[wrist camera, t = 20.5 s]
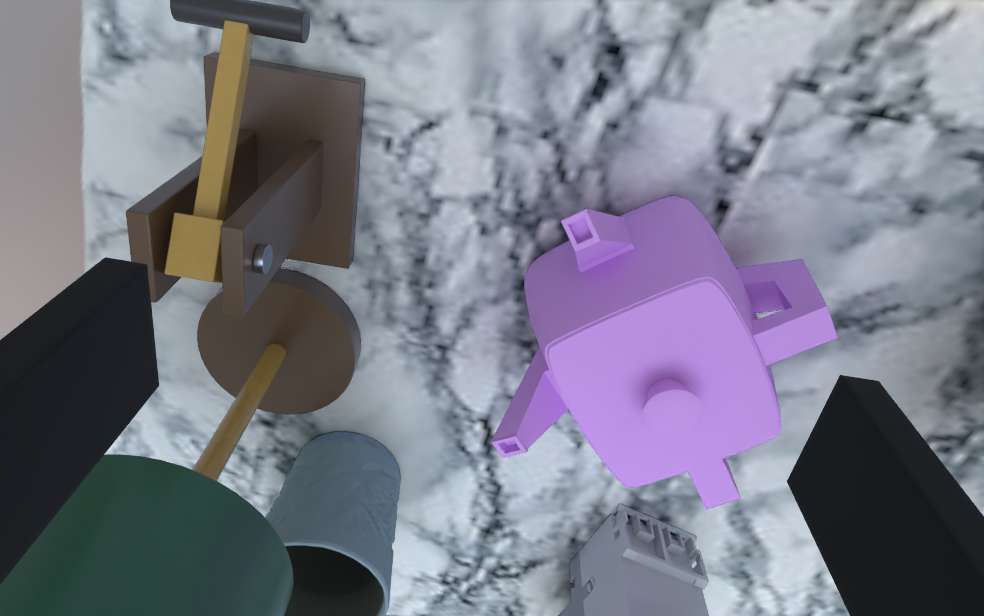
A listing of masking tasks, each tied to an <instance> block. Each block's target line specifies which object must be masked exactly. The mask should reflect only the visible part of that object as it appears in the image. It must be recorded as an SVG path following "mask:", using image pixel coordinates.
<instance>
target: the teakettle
mask: <svg viewBox="0 0 984 616" xmlns="http://www.w3.org/2000/svg"><path fill="white" fill-rule="evenodd" d="M561 222H562V224H563V227H564V229H565V231H566V233H567V235H568V237H569V239H570V240H568V241H566V242H564V243H563V244H561V245H559V246H557V247H555V248H553V249H551V250H550V251H548V252H546V253H544V254H543V255H541V256H540V257H539V258H537V259H536V260H535V261H534V262H533V263H532V264H531V265H530V267H529V268H528V270H527V272H526V275H525V281H524V287H525V296H526V302H527V307H528V312H529V317H530V321H531V324H532V327H533V330H534V333H535V336H536V338H537V341H538V344H539V348H538V350H537V352H536V354H535V356H534V358H533V360H532V362H531V364H530V366H529V368H528V370H527V372H526V374H525V376H524V378H523V380H522V382H521V384H520V386H519V388H518V390H517V392H516V394H515V396H514V398H513V400H512V402H511V404H510V406H509V408H508V410H507V412H506V414H505V416H504V418H503V420H502V422H501V424H500V426H499V427H498V429H497V431H496V433H495V435H494V437H493V440H492V444H493V445H494V446H495V448H496V449H497V451H498V452H499V453H500V455H501V456H502V457H503V458H504V457H508V456H512V455H516V454H520V453H524V452H527V450H528V448H529V447H530V446H531V445H532V444H533V443H534V442H535V441H536V440H537V439H538V438H539V437H540V436H541V435H542V434H543V433H544V432H545V431H546V430H547V429H548V428H549V427H550V426H551V425H552V424H554V423H555V422H556V421H557V420H558V419H559V418H560V417H561V416H562V415H563V414H564V413H565V412H566V411H567V410H568V409H569V411H570V413H571V414H572V416H573V418H574V420H575V421H576V423H577V425H578V427H579V428H580V430H581V431H582V433H583V434H584V436H585V437H586V439H587V440H588V442H589V443H590V445H591V446H592V448H593V449H594V450H595V452H596V453H597V455H598V456H599V457H600V459H601V460H602V461H603V463H604V464H605V465H606V467H607V468H608V469H609V470H610V472H611V473H612V474H613V475H614V476H615V477H616V478H617V480H619V481H620V482H621V483H622V484H623V485H625V486H627V487H630V488H635V487H639V486H643V485H647V484H650V483H654V482H657V481H660V480H663V479H666V478H670V477H673V476H676V475H679V474H682V473H685V472H688V473H689V475H690V477H691V479H692V481H693V483H694V485H695V487H696V489H697V491H698V493H699V495H700V497H701V499H702V501H703V503H704V505H705V507H706V509H710V508H713V507H716V506H719V505H722V504H725V503H728V502H732V501H735V500H738V499H741V498H740V495H739V493H738V490H737V487H736V484H735V482H734V479H733V476H732V473H731V471H730V468H729V465H728V463H727V460H726V457H729V456H732V455H735V454H737V453H740V452H742V451H745V450H747V449H750V448H752V447H755V446H757V445H760V444H762V443H764V442H767V441H769V440H771V439H773V438H775V437H776V436H778V435H779V433H780V431H781V416H780V410H779V404H778V399H777V394H776V389H775V384H774V379H773V374H772V370H771V366H770V364H772V363H775V362H777V361H780V360H783V359H785V358H788V357H790V356H793V355H795V354H798V353H800V352H803V351H805V350H808V349H811V348H813V347H816V346H818V345H821V344H823V343H826V342H828V341H831V340H834V339H836V338H837V335H836V331H835V328H834V325H833V322H832V319H831V316H830V313H829V310H828V307H827V305H826V303H825V301H824V299H823V297H822V295H821V294H820V292H819V290H818V288H817V286H816V284H815V282H814V280H813V279H812V277H811V275H810V273H809V271H808V269H807V267H806V265H805V264H804V262H803V260H802V259H798V260H791V261H783V262H776V263H768V264H761V265H753V266H745V267H738V268H736V267H735V265H734V263H733V261H732V260H731V258H730V256H729V254H728V253H727V251H726V249H725V248H724V246H723V244H722V242H721V241H720V239H719V238H718V236H717V234H716V233H715V231H714V230H713V228H712V227H711V225H710V224H709V222H708V221H707V220H706V218H705V217H704V216H703V214H702V213H701V212H700V211H699V210H698V209H697V208H696V206H695V205H694V204H693V203H691V202H690V201H688V200H686V199H684V198H681V197H677V196H669V197H665V198H661V199H659V200H656V201H654V202H651V203H648V204H646V205H643V206H641V207H639V208H636V209H634V210H632V211H630V212H627V213H625V214H623V215H620V216H614V215H610V214H606V213H602V212H598V211H594V210H590V209H584V210H582V211H580V212H578V213H576V214H573V215H571V216H569V217H567V218H565V219H562V220H561ZM778 310H783V311H781V312H778V313H775V314H772V315H769V316H766V317H763V318H760V319H757V316H756V313H760V312H769V311H778Z"/></svg>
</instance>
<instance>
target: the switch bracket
mask: <svg viewBox="0 0 984 616" xmlns="http://www.w3.org/2000/svg"><path fill="white" fill-rule="evenodd" d="M218 59H219V54H217V53H211V54H209V55H206V56H204V74H205V97H206V119H207V127H208V120H209V114H210V108H211V102H212V96H213V90H214V83H215V77H216V71H217V65H218ZM364 91H365V79H361V78H355V77H349V76H343V75H338V74H332V73H326V72H320V71H315V70H309V69H303V68H297V67H292V66H286V65H280V64H274V63H269V62H263V61H257V60H251V59H250V63H249V70H248V76H247V82H246V88H245V94H244V100H243V107H242V113H241V119H240V125H239V131H238V137H237V144H236V150H235V156H234V162H233V168H232V174H231V181H230V187H229V193H228V199H227V205H226V211H225V217H224V221H225V222H224V223H223V224H222V225H221V227H220V231H221V257H222V284H223V311H224V313H225V314H231V315H237V316H245V315H246V313H247V312H248V311H249V309H250V308H251V306H252V305H253V304H254V302H255V301H256V299H257V298H258V297H259V295H260V294H261V292H262V291H263V290H264V288H265V287H266V285H267V284H268V283H269V281H270V280H271V278H272V277H273V276H274V274H275V273H276V271H277V270H278V269H279V267H280V266H281V264H282V263H283V262H284V260H285V259H292V260H298V261H304V262H310V263H317V264H323V265H329V266H335V267H341V268H348V269H349V267H350V265H351V263H352V261H353V255H354V240H355V225H356V210H357V195H358V180H359V165H360V151H361V136H362V121H363V106H364ZM202 157H203V156H202ZM202 157H200V158H199V159H198V160H196V161H195V162H193V163H192V164H191V165H189V166H188V167H186V168H185V169H184V170H182V171H181V172H179V173H178V174H177V175H175V176H174V177H173V178H171V179H170V180H168V181H167V182H166V183H164V184H163V185H161V186H160V187H159V188H157V189H156V190H154V191H153V192H152V193H150V194H149V195H147V196H146V197H145V198H143V199H142V200H140V201H139V202H138V203H136V204H135V205H134V206H132V207H131V208H129V209H128V210H127V211H126V217H127V226H128V235H129V245H130V254H131V262H136V263H142V264H147V267H148V277H149V288H150V298H151V302H158V301H159V300H160V299H161V298H162V296H163V295H164V294H165V293H166V292H167V291H168V290H169V289H170V288H171V287H172V286H173V285H174V284H175V283H176V282H177V281H178V280H179V279H180V278H181V277H179V276H173V275H167V274H165V268H166V261H167V255H168V249H169V243H170V237H171V231H172V224H173V218H174V213H182V214H188V215H193V213H194V207H195V200H196V194H197V188H198V182H199V176H200V170H201V163H202Z"/></svg>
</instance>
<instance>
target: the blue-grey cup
mask: <svg viewBox="0 0 984 616" xmlns="http://www.w3.org/2000/svg"><path fill="white" fill-rule="evenodd" d="M400 480H401V477H400V470H399V466H398V464H397V462H396V460H395V458H394V456H393V455H392V454H391V452H390V451H389V450H388V449H387V448H386V447H384V446H383V445H382V444H380V443H379V442H377V441H376V440H374V439H372V438H369V437H367V436H364V435H361V434H357V433H352V432H341V431H338V432H332V433H327V434H324V435H322V436H321V435H319V436H317V437H316V438H315V440H311V441H310V442H309V443H308V444H307V445H306V446H305V447H304V448H303V449H302V450H301V451H300V453H299V455H298V457H297V458H296V460H295V462H294V464H293V467H292V470H291V471H290V472H289V475H288V476H287V478H286V480H285V482H284V485H283V487H282V490H281V491H280V495H279V497H278V498H277V499H276V500H275V502H274V504H273V507H272V508H270V512H269V513H268V514H267V516H266V519H267V521H268V522H269V523H270V524H271V525H272V527H273V528H274V529H275V530H276V532H277V534H278V535H279V537H280V538H281V540H282V541H283V543H284V545H285V548H286V550H287V552H288V554H289V557H290V561H291V565H292V569H293V589H292V594H291V598H290V601H289V604H288V606H287V609H286V612H285V615H284V616H385V615H386V613H387V610H388V607H389V600H390V586H391V574H392V563H393V550H392V548H391V547H392V543H393V542H394V540H395V528H396V520H397V502H398V500H399V490H400Z"/></svg>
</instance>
